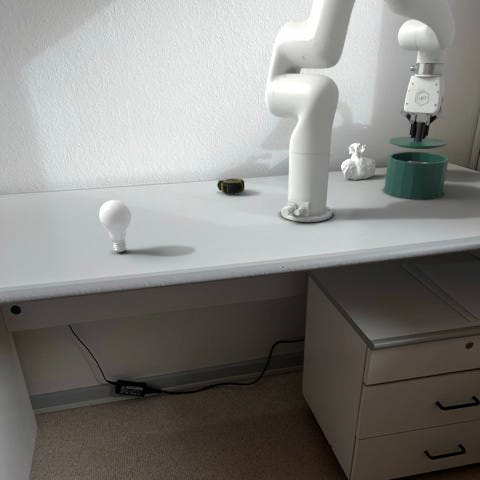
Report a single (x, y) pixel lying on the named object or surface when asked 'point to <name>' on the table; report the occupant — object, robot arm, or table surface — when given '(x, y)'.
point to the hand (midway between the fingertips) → (418, 137)
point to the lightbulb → (116, 222)
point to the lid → (418, 140)
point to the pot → (415, 175)
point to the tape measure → (231, 186)
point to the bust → (358, 164)
